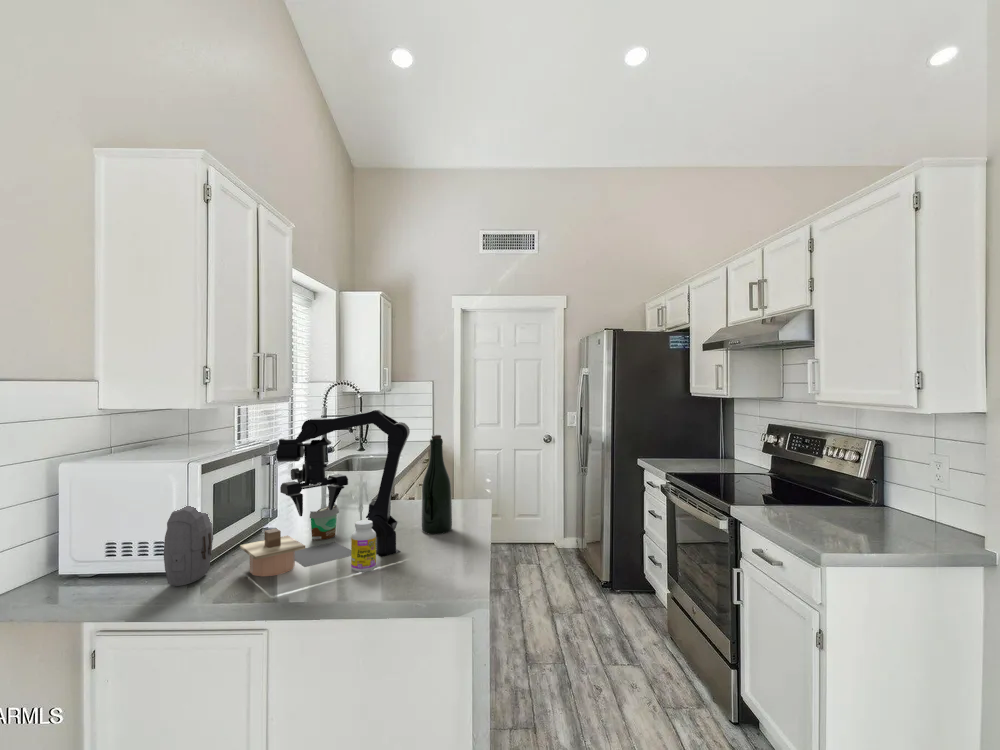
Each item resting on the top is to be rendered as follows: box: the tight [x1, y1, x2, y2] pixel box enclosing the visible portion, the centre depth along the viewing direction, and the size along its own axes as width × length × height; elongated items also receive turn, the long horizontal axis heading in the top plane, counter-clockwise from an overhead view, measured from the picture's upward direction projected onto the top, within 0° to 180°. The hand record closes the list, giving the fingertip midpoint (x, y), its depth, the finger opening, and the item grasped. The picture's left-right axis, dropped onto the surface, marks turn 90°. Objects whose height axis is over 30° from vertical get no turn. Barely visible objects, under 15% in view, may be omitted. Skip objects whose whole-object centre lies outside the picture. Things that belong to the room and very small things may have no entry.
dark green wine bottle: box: [421, 434, 453, 535], centre depth 181 cm, size 10×10×33 cm
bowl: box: [249, 551, 296, 577], centre depth 144 cm, size 11×11×6 cm
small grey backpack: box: [163, 505, 214, 587], centre depth 137 cm, size 15×8×20 cm, turn 3°
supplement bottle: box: [350, 519, 377, 573], centre depth 145 cm, size 7×7×13 cm
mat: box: [295, 541, 351, 568], centre depth 157 cm, size 16×16×1 cm
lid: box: [239, 528, 306, 560], centre depth 144 cm, size 13×13×5 cm
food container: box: [309, 502, 340, 541], centre depth 174 cm, size 12×6×10 cm, turn 168°
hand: (316, 513), depth 157 cm, fingers open, 9 cm apart
